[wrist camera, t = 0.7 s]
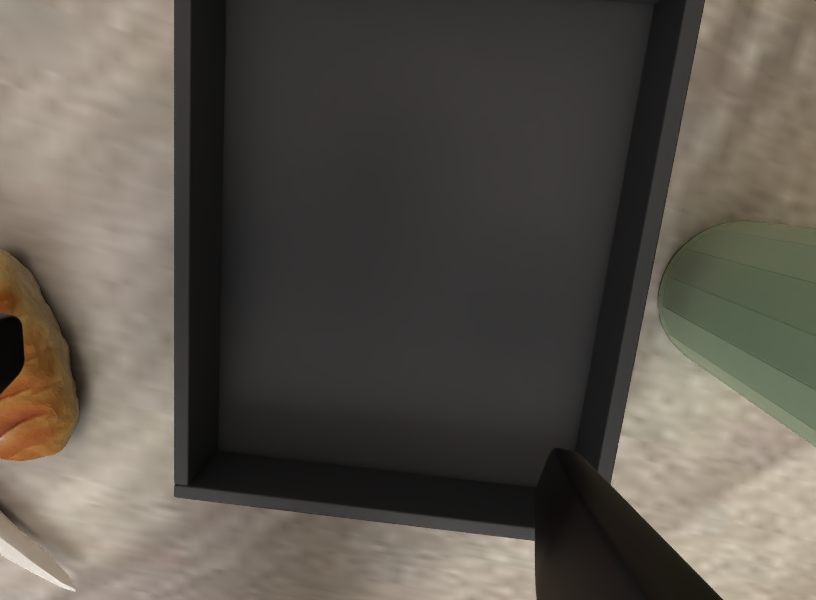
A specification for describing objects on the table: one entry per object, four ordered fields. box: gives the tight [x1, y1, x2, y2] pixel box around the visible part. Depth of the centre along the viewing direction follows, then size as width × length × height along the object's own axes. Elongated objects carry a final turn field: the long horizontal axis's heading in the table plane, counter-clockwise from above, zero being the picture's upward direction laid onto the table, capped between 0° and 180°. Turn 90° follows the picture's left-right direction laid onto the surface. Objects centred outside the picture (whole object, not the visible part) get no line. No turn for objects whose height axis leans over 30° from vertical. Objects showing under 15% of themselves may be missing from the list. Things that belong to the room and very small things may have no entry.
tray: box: [174, 0, 705, 541], centre depth 21 cm, size 21×17×4 cm
